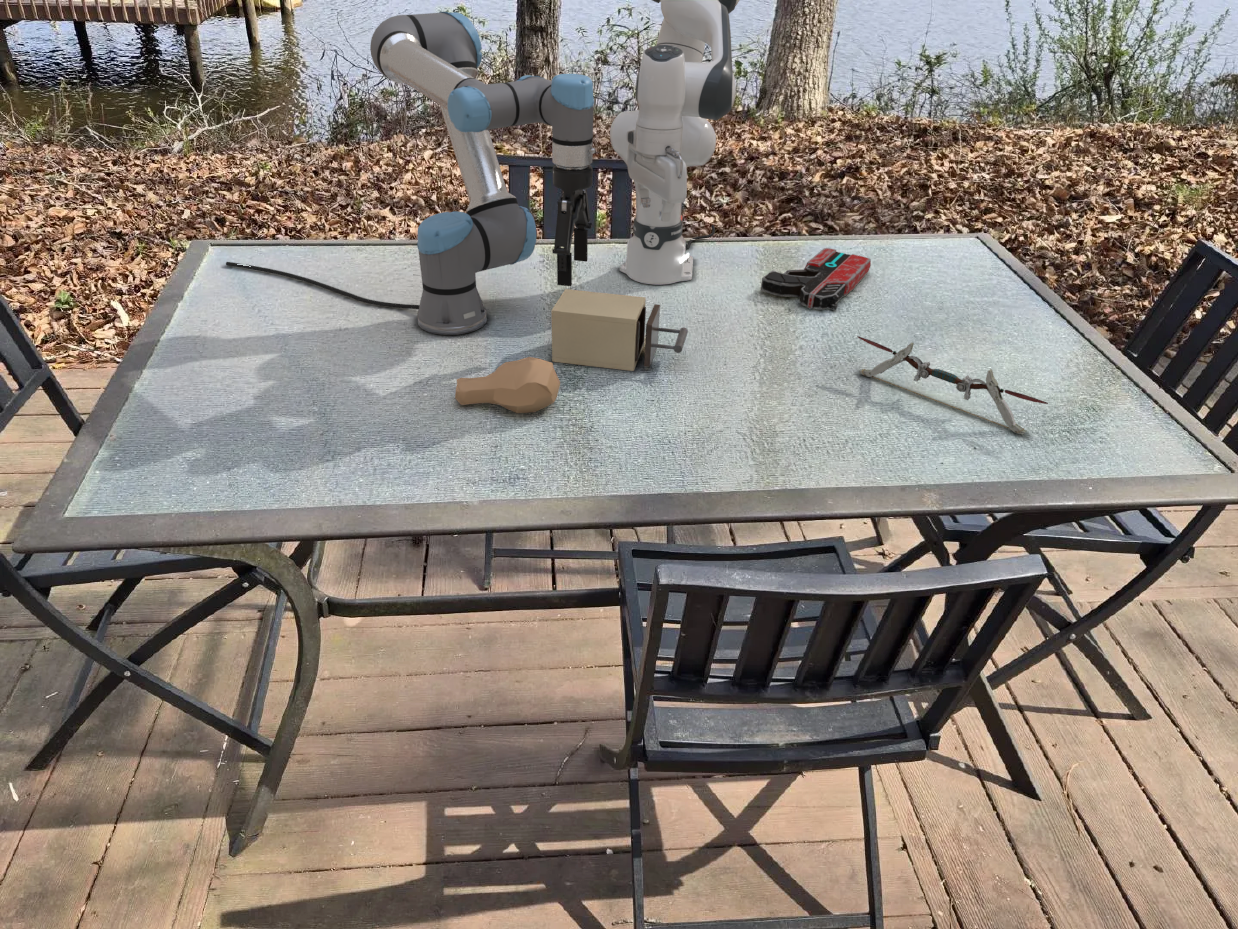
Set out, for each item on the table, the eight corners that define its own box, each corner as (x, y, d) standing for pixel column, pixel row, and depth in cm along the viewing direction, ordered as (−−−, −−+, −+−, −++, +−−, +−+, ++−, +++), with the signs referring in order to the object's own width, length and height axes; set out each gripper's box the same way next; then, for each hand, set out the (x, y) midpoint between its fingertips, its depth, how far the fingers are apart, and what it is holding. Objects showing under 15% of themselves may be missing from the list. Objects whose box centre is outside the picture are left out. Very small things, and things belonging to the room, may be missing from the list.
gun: (758, 278, 211) (834, 298, 203) (804, 240, 233) (875, 256, 225) (755, 296, 213) (831, 316, 205) (802, 256, 235) (872, 273, 227)
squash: (562, 419, 163) (554, 381, 157) (456, 427, 164) (445, 390, 158) (565, 383, 171) (557, 345, 164) (464, 391, 172) (453, 354, 166)
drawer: (687, 348, 186) (690, 307, 181) (680, 370, 178) (683, 328, 173) (585, 337, 190) (585, 296, 184) (574, 358, 181) (574, 316, 176)
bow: (1038, 437, 161) (1054, 389, 156) (1034, 440, 160) (1051, 392, 155) (853, 367, 183) (861, 323, 177) (848, 370, 182) (857, 326, 176)
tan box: (643, 347, 189) (645, 297, 182) (633, 371, 179) (635, 319, 173) (565, 338, 191) (565, 288, 185) (552, 361, 182) (551, 310, 176)
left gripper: (576, 185, 154) (576, 298, 166) (605, 149, 174) (604, 252, 186) (535, 181, 155) (538, 294, 167) (569, 146, 175) (569, 249, 187)
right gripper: (698, 152, 159) (692, 227, 167) (651, 128, 175) (648, 198, 183) (666, 154, 157) (662, 230, 165) (622, 130, 173) (620, 200, 180)
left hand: (572, 272), depth 176 cm, fingers open, 13 cm apart
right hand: (654, 213), depth 174 cm, fingers open, 8 cm apart
